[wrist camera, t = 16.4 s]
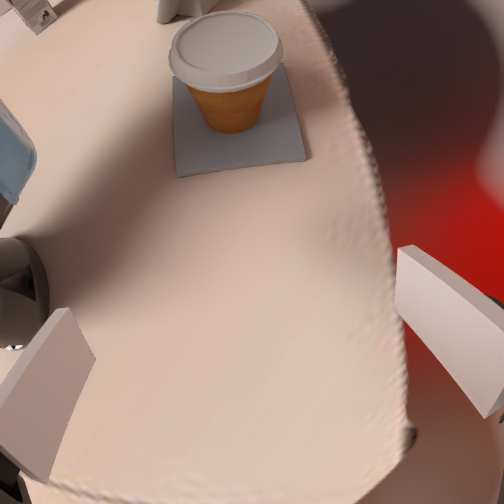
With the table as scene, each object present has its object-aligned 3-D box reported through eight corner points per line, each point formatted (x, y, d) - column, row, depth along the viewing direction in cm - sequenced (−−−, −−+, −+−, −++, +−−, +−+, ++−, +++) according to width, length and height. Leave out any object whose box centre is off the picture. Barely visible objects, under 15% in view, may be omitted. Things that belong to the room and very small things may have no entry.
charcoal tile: (178, 177, 30) (175, 174, 29) (174, 80, 32) (172, 76, 31) (304, 161, 31) (306, 157, 30) (282, 67, 32) (283, 62, 31)
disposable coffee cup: (257, 72, 31) (260, 0, 19) (286, 133, 30) (303, 64, 18) (182, 94, 30) (157, 25, 18) (202, 158, 30) (177, 96, 18)
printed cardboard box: (28, 28, 34) (-2, -9, 18) (49, 10, 34) (22, -29, 18) (36, 36, 33) (2, -5, 17) (59, 16, 34) (29, -28, 18)
